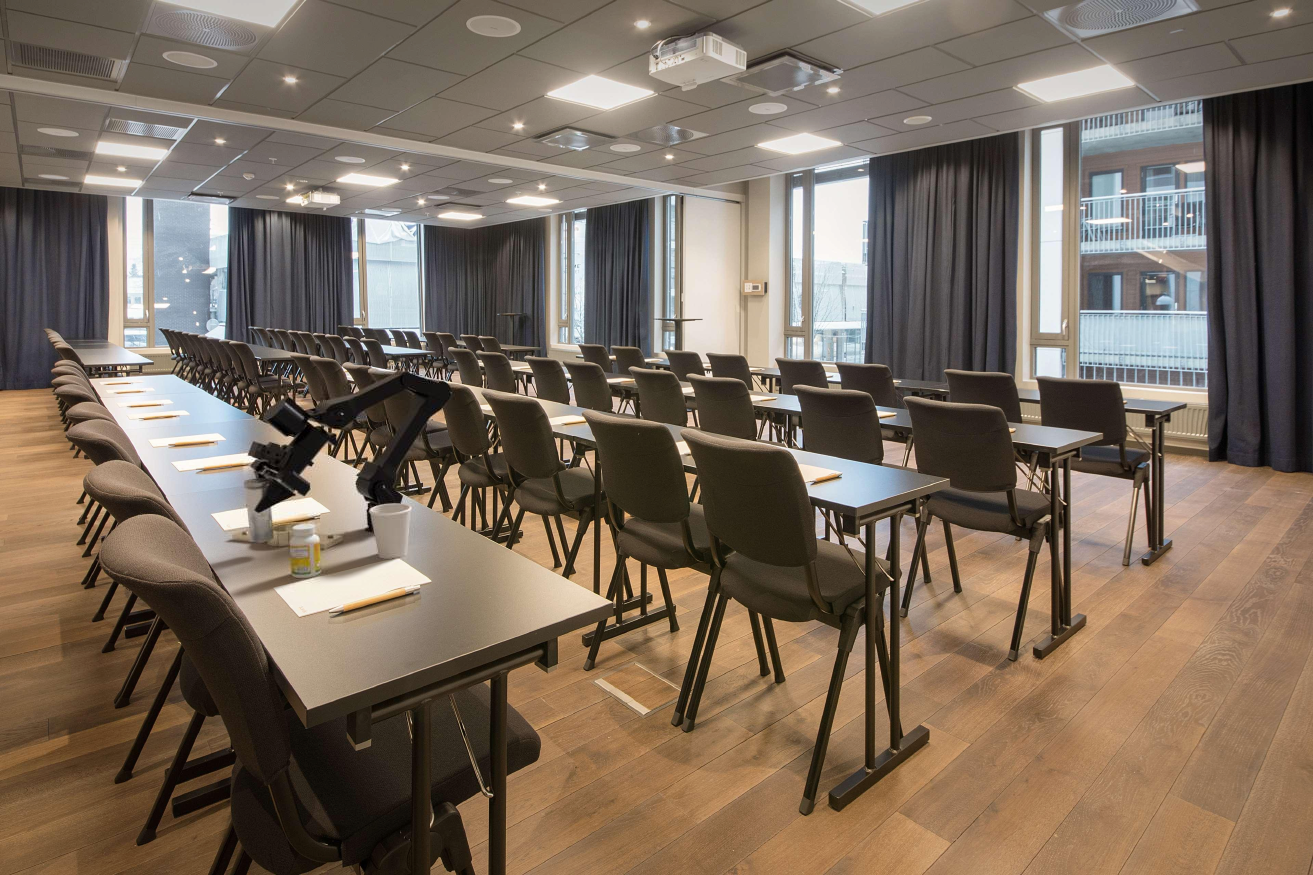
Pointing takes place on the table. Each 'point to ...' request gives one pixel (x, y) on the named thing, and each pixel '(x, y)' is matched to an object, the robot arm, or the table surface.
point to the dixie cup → (391, 529)
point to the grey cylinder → (258, 521)
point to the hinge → (289, 536)
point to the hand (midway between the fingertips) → (252, 509)
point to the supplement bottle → (305, 551)
